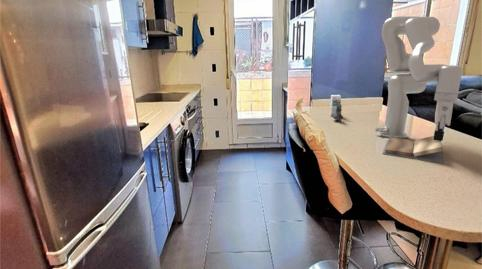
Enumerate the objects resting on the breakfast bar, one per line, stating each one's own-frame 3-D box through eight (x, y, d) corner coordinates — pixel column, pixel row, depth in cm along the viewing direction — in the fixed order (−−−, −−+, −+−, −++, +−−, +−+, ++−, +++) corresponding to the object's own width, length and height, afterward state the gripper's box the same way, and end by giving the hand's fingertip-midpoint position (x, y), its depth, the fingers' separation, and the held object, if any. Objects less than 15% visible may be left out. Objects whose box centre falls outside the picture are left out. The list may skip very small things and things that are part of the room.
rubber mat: (382, 153, 122) (382, 153, 121) (387, 140, 139) (387, 139, 139) (444, 163, 110) (444, 162, 110) (441, 147, 128) (441, 146, 128)
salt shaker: (335, 119, 183) (336, 101, 180) (344, 121, 180) (345, 102, 176) (331, 121, 179) (333, 103, 175) (340, 122, 175) (342, 104, 172)
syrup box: (330, 116, 192) (332, 95, 188) (329, 114, 198) (330, 94, 194) (339, 116, 191) (341, 95, 187) (337, 115, 197) (339, 94, 193)
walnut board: (385, 152, 122) (385, 149, 121) (389, 140, 138) (390, 137, 138) (411, 156, 117) (412, 153, 116) (413, 143, 133) (413, 140, 133)
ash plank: (414, 156, 116) (413, 153, 116) (415, 143, 132) (414, 140, 132) (443, 150, 110) (441, 146, 110) (440, 137, 127) (439, 134, 127)
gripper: (459, 99, 106) (450, 146, 111) (455, 95, 118) (447, 136, 123) (435, 98, 110) (427, 143, 115) (434, 94, 122) (427, 134, 127)
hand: (437, 139), depth 119 cm, fingers closed
